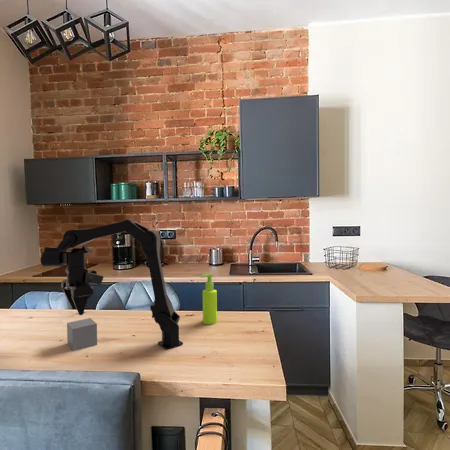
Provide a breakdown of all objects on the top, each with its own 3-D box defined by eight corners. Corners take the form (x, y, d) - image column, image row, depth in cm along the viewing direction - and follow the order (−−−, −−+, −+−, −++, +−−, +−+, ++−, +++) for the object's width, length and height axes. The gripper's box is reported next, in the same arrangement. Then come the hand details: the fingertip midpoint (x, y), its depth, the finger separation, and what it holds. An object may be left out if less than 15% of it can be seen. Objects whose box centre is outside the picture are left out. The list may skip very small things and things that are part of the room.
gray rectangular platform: (97, 344, 105) (96, 323, 104) (72, 351, 100) (72, 329, 100) (90, 337, 111) (90, 317, 110) (67, 343, 106) (66, 322, 106)
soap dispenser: (198, 321, 127) (198, 273, 127) (213, 318, 130) (213, 272, 130) (203, 325, 122) (202, 276, 122) (219, 323, 125) (218, 274, 124)
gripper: (109, 266, 101) (110, 313, 102) (92, 260, 115) (94, 301, 116) (73, 270, 94) (74, 320, 94) (60, 264, 108) (61, 307, 109)
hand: (77, 311), depth 104 cm, fingers open, 9 cm apart
